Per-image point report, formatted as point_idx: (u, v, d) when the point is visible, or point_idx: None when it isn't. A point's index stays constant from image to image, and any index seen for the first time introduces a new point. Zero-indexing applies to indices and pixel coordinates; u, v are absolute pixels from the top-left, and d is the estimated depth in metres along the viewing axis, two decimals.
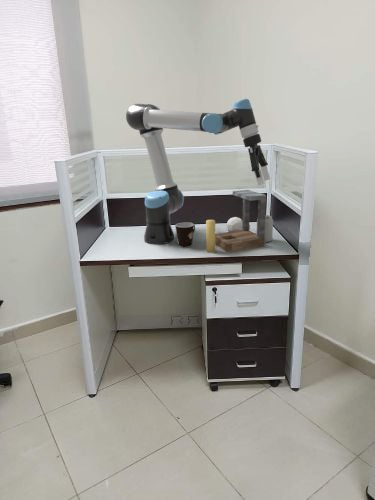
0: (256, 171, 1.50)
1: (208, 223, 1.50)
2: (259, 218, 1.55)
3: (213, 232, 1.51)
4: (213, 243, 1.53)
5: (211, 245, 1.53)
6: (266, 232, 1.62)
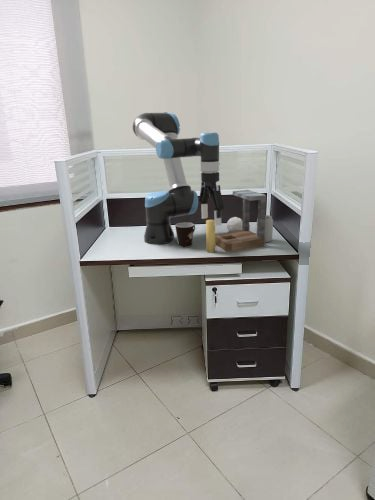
0: (219, 211, 1.42)
1: (208, 223, 1.50)
2: (259, 218, 1.55)
3: (213, 232, 1.51)
4: (213, 243, 1.53)
5: (211, 245, 1.53)
6: (266, 232, 1.62)
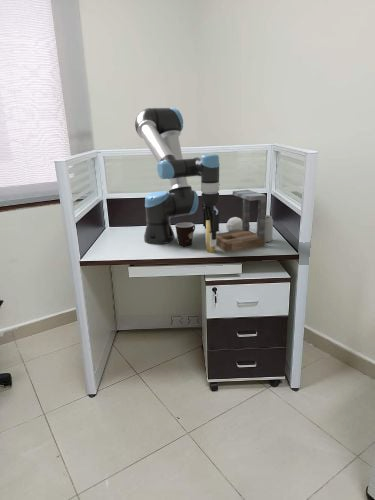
0: (214, 233, 1.49)
1: (208, 223, 1.50)
2: (259, 218, 1.55)
3: None
4: None
5: None
6: (266, 232, 1.62)
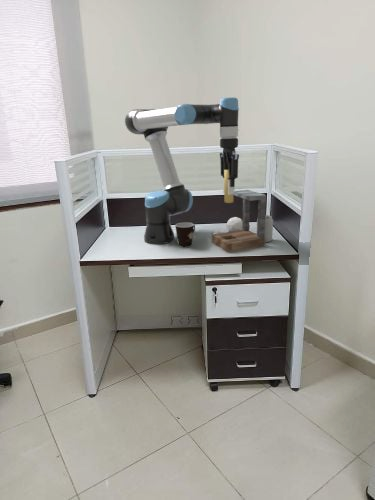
0: (233, 180, 1.48)
1: (226, 172, 1.49)
2: (259, 218, 1.55)
3: None
4: None
5: (229, 195, 1.52)
6: (266, 232, 1.62)
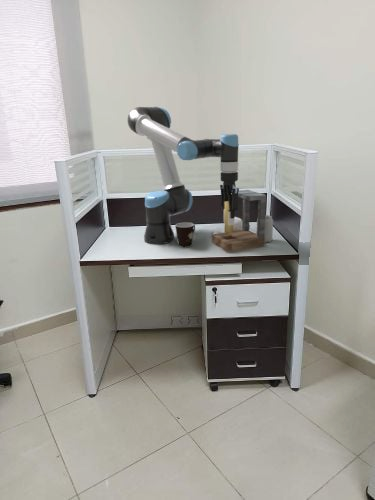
0: (233, 212, 1.53)
1: (227, 204, 1.54)
2: (259, 218, 1.55)
3: None
4: None
5: (229, 226, 1.57)
6: (266, 232, 1.62)
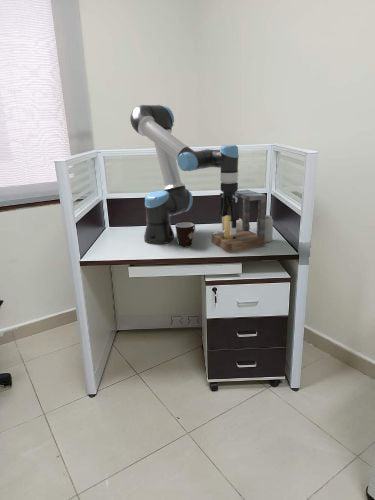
0: (234, 221, 1.53)
1: (226, 218, 1.56)
2: (259, 218, 1.55)
3: None
4: (231, 238, 1.59)
5: None
6: (266, 232, 1.62)
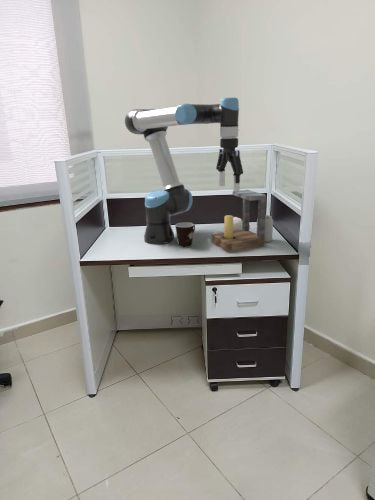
0: (238, 176, 1.44)
1: (226, 218, 1.56)
2: (259, 218, 1.55)
3: (231, 227, 1.58)
4: (231, 238, 1.59)
5: None
6: (266, 232, 1.62)
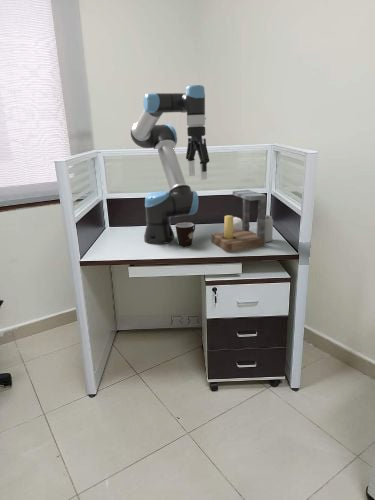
0: (204, 164, 1.43)
1: (226, 218, 1.56)
2: (259, 218, 1.55)
3: (231, 227, 1.57)
4: (231, 238, 1.59)
5: None
6: (266, 232, 1.62)
